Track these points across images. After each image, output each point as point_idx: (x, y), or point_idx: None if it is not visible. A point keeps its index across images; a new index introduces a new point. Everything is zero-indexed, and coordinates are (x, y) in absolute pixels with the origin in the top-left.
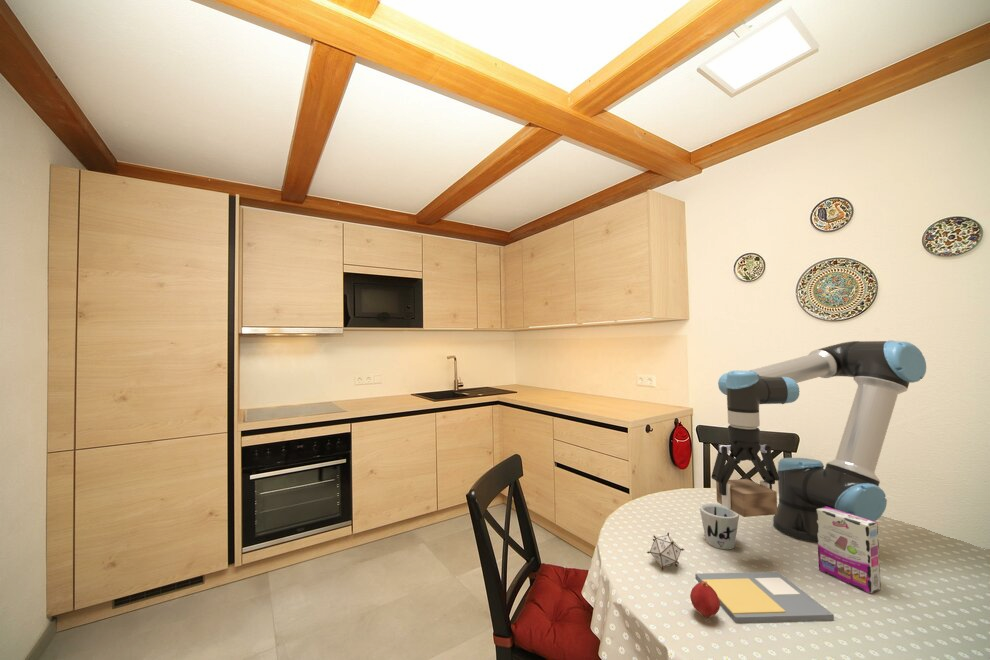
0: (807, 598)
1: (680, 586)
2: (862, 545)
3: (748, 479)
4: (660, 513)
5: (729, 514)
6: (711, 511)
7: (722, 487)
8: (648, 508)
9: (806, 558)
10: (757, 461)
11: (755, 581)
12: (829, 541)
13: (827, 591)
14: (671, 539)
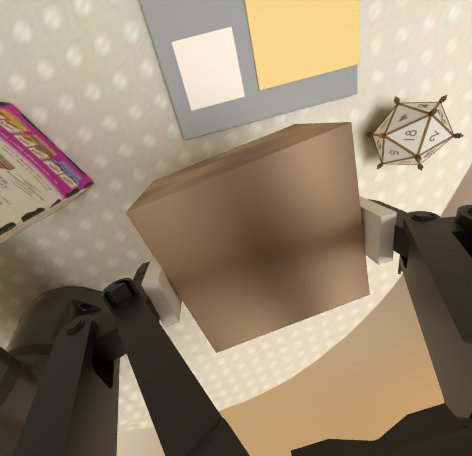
0: (161, 26)
1: (393, 55)
2: None
3: (213, 347)
4: (312, 318)
5: None
6: None
7: (400, 210)
8: (325, 329)
9: (104, 225)
10: (232, 444)
11: (247, 84)
12: (23, 180)
13: (103, 97)
14: (410, 147)
